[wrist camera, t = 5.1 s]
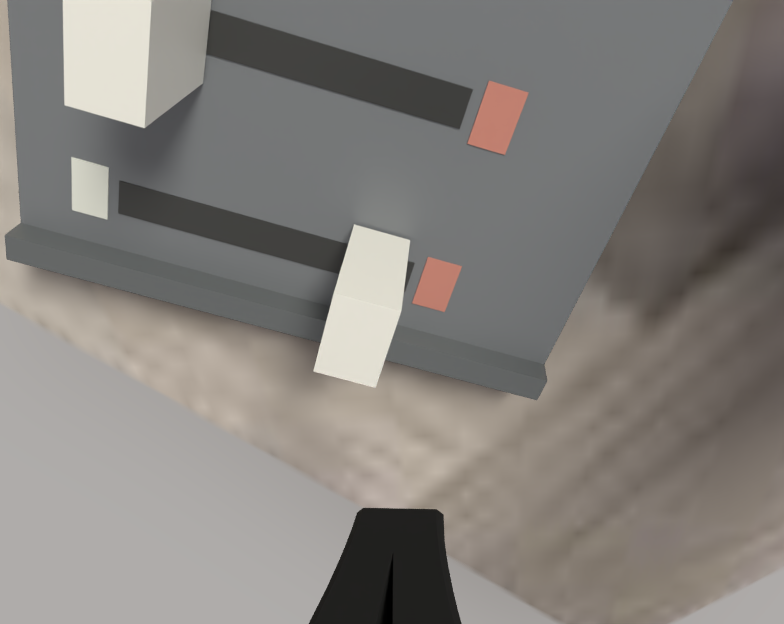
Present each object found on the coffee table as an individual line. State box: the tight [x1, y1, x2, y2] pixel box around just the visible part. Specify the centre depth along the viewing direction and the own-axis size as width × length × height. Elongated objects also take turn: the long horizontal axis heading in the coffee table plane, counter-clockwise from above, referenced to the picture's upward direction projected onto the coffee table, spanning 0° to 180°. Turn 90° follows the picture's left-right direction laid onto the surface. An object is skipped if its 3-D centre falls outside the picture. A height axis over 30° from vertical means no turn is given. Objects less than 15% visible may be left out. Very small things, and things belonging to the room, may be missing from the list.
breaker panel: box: [5, 0, 733, 400], centre depth 16 cm, size 16×15×2 cm
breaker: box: [63, 0, 211, 128], centre depth 14 cm, size 2×2×4 cm
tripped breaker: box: [313, 224, 410, 388], centre depth 17 cm, size 2×2×4 cm
